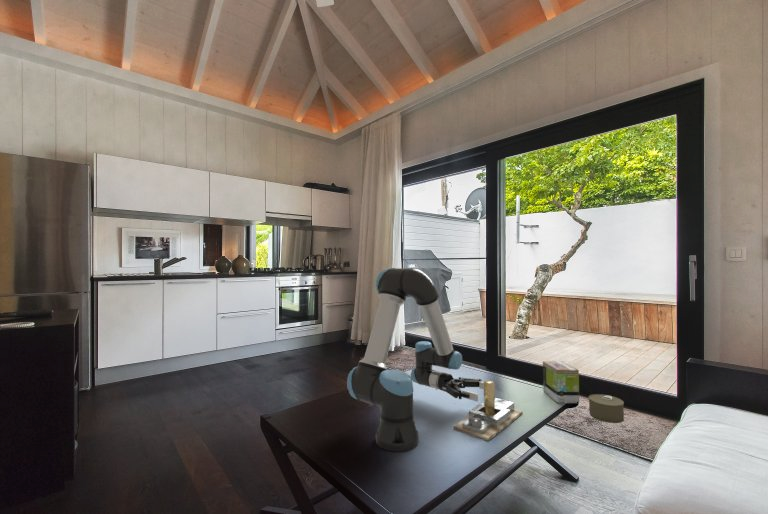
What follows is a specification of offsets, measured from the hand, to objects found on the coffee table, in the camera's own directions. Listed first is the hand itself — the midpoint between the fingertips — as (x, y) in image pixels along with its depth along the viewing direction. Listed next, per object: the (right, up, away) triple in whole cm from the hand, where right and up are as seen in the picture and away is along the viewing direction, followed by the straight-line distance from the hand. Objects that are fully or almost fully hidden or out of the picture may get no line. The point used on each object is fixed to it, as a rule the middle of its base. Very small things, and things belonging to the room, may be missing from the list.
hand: (486, 392), depth 139 cm
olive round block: (+48, -10, +1) cm, 49 cm away
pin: (+1, -9, -1) cm, 10 cm away
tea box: (+41, -11, +22) cm, 47 cm away
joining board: (+1, -10, -1) cm, 11 cm away
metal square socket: (+1, -10, -1) cm, 11 cm away
